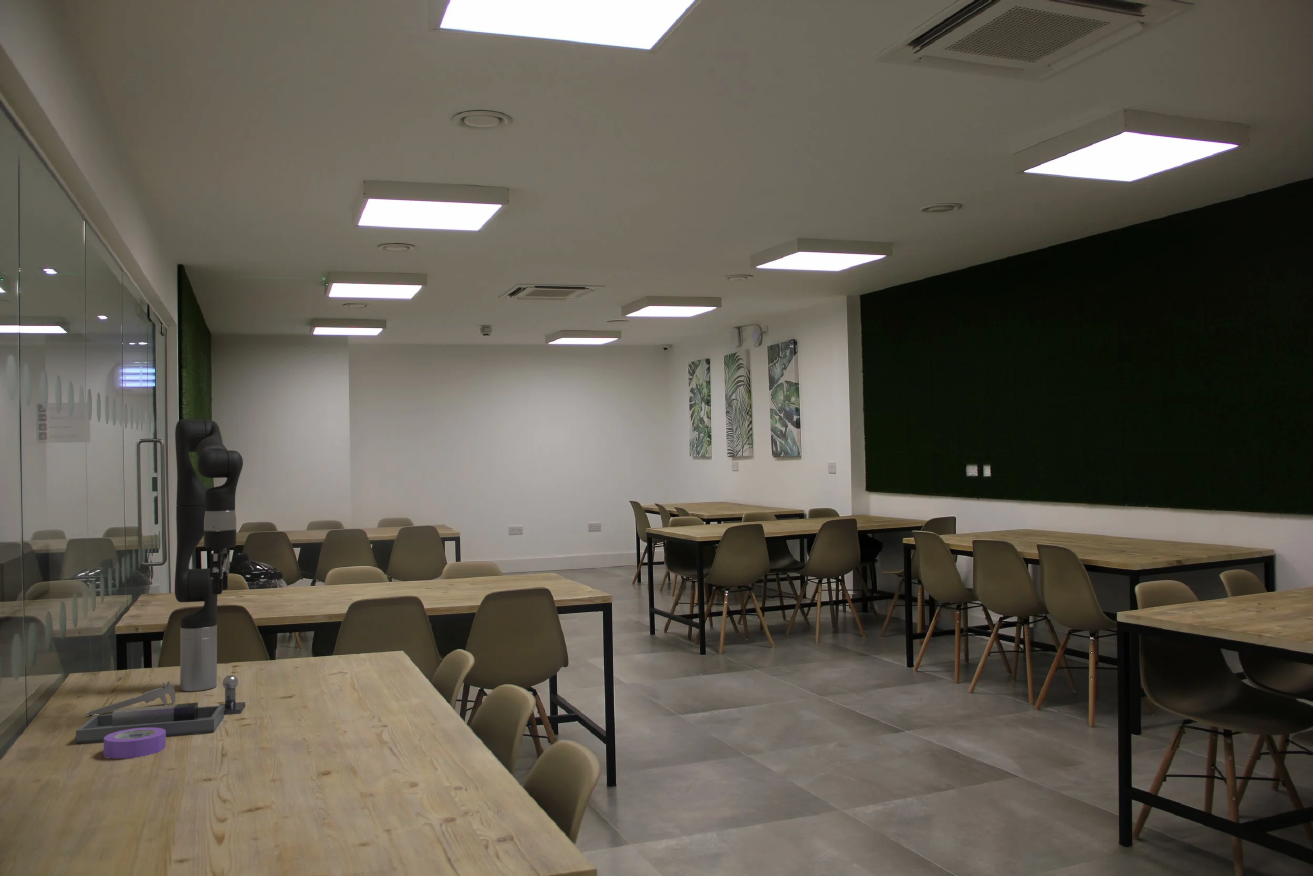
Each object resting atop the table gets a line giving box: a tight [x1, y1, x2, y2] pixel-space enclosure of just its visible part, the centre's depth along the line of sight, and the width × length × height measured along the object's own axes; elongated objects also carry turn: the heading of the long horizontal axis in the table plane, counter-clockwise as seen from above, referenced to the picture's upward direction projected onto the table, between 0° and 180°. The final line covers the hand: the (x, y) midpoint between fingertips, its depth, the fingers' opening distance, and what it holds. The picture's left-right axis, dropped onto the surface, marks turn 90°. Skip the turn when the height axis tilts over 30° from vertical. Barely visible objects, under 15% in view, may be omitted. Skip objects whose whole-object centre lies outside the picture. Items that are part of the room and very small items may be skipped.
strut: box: [111, 702, 199, 727], centre depth 217 cm, size 4×17×4 cm, turn 107°
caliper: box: [84, 680, 176, 716], centre depth 237 cm, size 20×1×6 cm, turn 128°
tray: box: [75, 704, 225, 745], centre depth 217 cm, size 14×28×3 cm, turn 107°
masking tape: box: [103, 727, 167, 759], centre depth 201 cm, size 12×12×4 cm
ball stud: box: [218, 674, 246, 715], centre depth 235 cm, size 8×6×9 cm
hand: (220, 592), depth 237 cm, fingers open, 8 cm apart
